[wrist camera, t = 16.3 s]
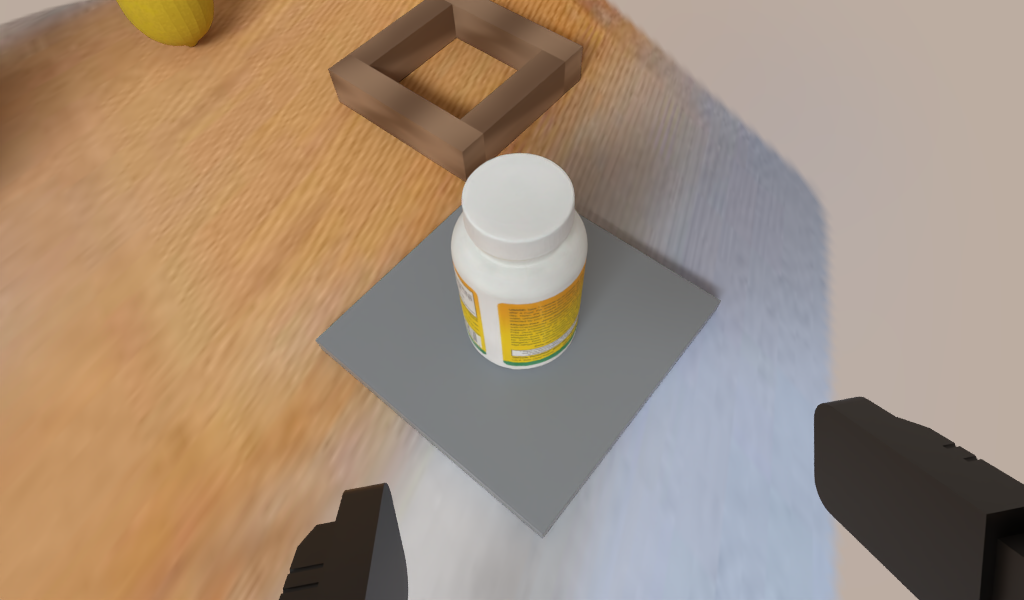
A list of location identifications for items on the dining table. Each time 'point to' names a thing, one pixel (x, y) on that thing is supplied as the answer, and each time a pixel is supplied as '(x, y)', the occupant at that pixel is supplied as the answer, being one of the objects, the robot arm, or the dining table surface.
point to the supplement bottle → (519, 260)
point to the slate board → (521, 392)
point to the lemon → (170, 19)
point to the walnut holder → (493, 122)
